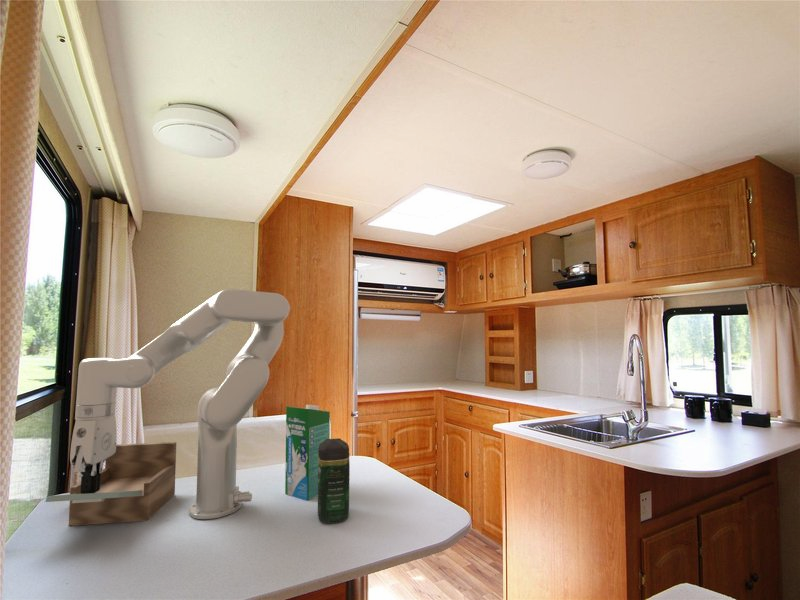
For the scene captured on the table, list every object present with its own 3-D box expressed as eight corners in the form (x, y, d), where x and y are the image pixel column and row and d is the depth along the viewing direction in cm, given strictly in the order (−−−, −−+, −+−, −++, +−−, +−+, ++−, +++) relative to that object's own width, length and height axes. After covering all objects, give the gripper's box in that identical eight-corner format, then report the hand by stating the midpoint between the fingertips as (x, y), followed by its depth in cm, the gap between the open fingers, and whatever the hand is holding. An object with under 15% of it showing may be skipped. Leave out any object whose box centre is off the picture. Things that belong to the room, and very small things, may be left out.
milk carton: (329, 489, 119) (330, 403, 121) (307, 500, 111) (308, 408, 113) (307, 484, 124) (308, 401, 126) (284, 494, 116) (285, 405, 118)
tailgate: (142, 490, 101) (119, 491, 91) (140, 498, 100) (117, 500, 90) (77, 494, 99) (47, 496, 89) (75, 502, 98) (44, 505, 88)
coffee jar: (351, 522, 98) (351, 444, 100) (318, 526, 96) (318, 447, 98) (347, 506, 107) (347, 435, 109) (317, 509, 106) (317, 437, 107)
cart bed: (174, 495, 116) (176, 441, 118) (147, 520, 101) (150, 458, 102) (106, 499, 114) (109, 444, 115) (68, 525, 98) (71, 462, 99)
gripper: (93, 416, 88) (87, 504, 86) (129, 405, 102) (125, 480, 101) (55, 417, 87) (48, 506, 85) (97, 406, 101) (92, 481, 100)
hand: (90, 492), depth 93 cm, fingers closed
